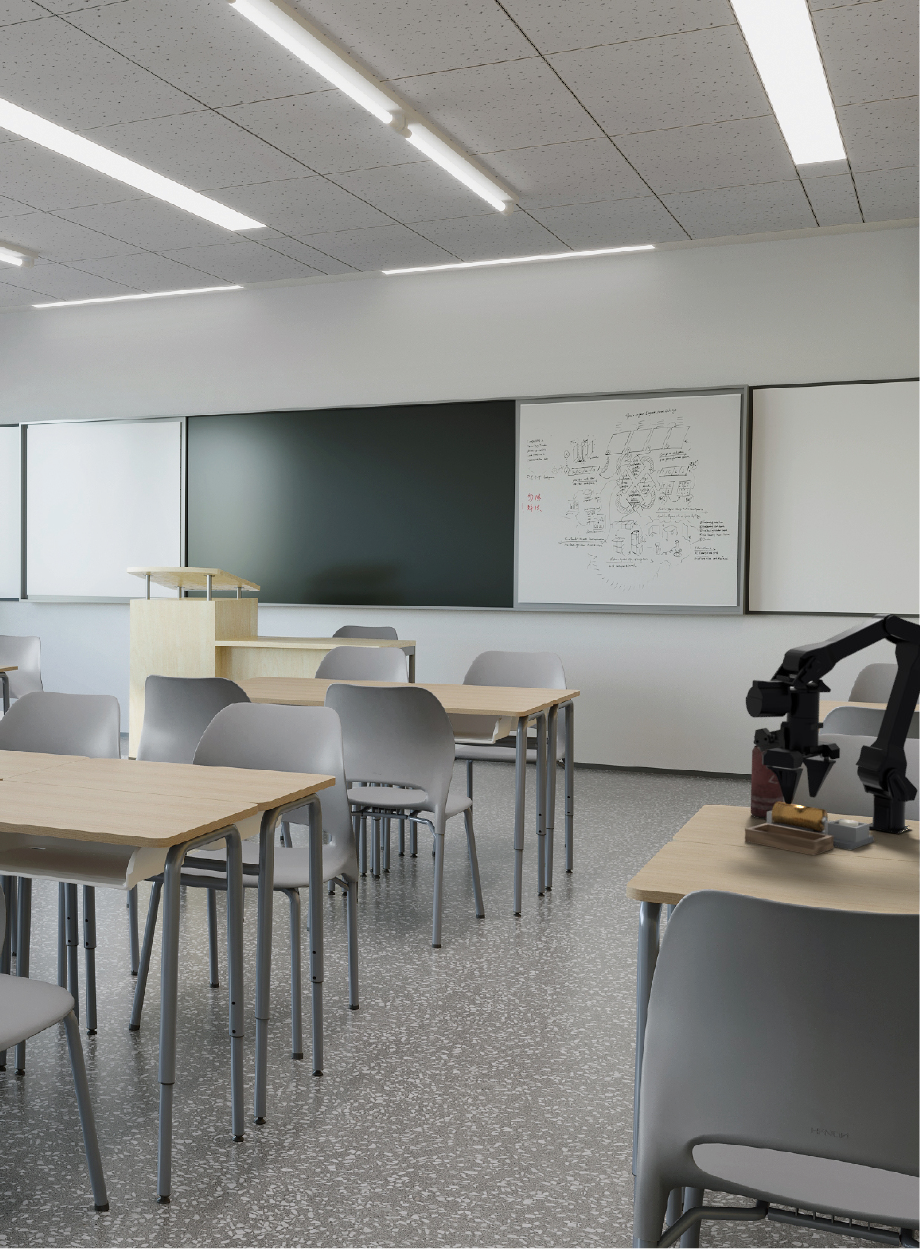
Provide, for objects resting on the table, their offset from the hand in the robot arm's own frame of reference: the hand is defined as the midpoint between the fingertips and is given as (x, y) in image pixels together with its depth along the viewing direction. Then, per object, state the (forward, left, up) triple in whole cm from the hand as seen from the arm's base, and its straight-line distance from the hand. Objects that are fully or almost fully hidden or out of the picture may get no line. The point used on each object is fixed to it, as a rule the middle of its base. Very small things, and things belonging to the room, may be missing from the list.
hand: (800, 800), depth 191 cm
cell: (0, 0, -3) cm, 3 cm away
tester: (0, +3, -6) cm, 7 cm away
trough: (+10, +3, -6) cm, 12 cm away
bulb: (0, +9, -4) cm, 10 cm away
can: (-8, -12, -6) cm, 16 cm away
